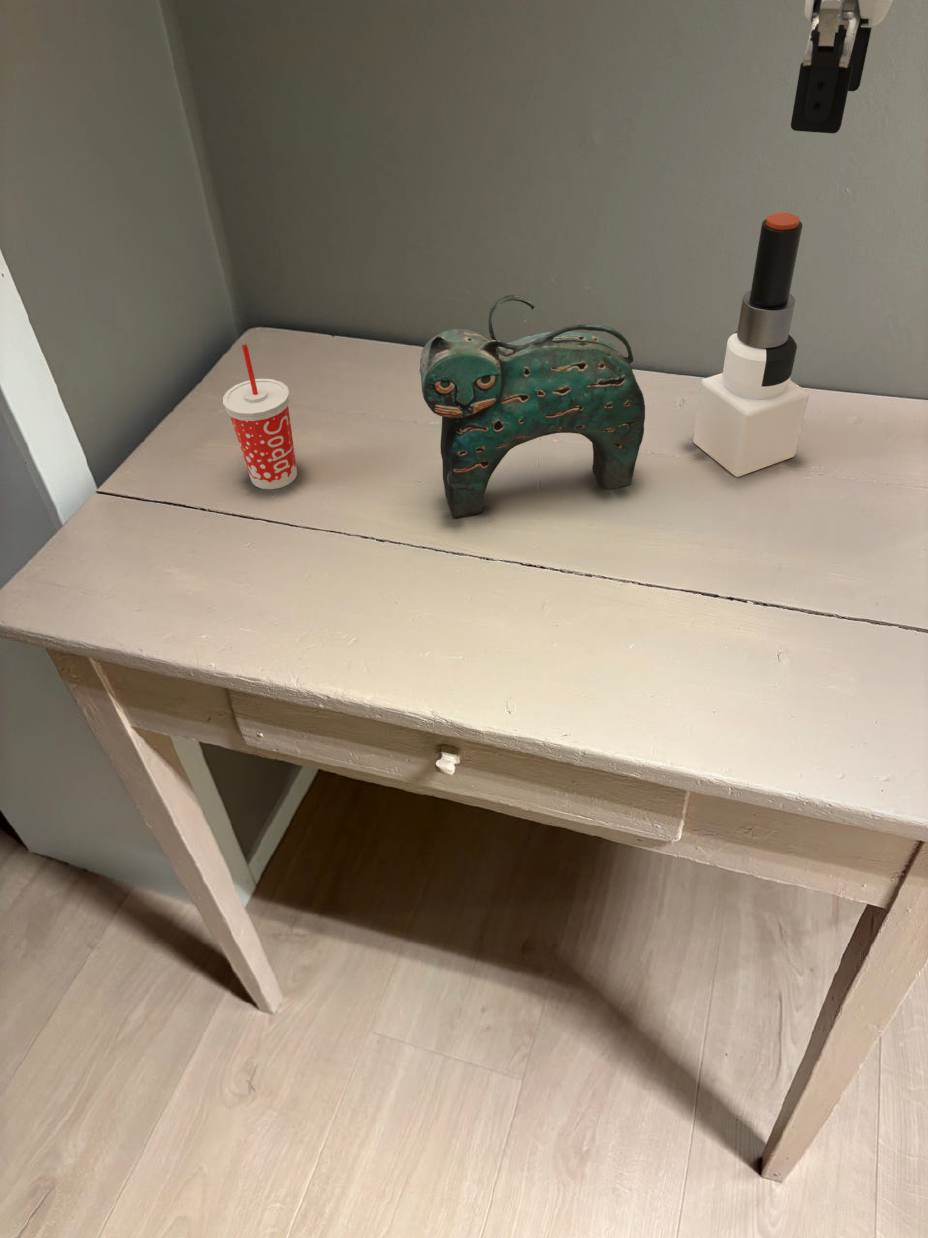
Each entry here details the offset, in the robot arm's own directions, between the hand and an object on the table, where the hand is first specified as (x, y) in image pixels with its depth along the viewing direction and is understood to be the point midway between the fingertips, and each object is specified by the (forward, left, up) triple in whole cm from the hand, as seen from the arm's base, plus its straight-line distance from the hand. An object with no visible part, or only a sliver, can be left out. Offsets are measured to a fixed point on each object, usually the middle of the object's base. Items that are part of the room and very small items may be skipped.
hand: (825, 108), depth 68 cm
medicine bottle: (+2, -4, -32) cm, 33 cm away
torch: (+2, -4, -20) cm, 21 cm away
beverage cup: (+44, +15, -32) cm, 56 cm away
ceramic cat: (+19, +9, -32) cm, 38 cm away
